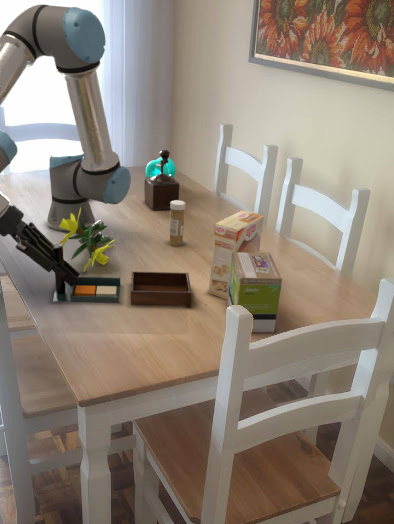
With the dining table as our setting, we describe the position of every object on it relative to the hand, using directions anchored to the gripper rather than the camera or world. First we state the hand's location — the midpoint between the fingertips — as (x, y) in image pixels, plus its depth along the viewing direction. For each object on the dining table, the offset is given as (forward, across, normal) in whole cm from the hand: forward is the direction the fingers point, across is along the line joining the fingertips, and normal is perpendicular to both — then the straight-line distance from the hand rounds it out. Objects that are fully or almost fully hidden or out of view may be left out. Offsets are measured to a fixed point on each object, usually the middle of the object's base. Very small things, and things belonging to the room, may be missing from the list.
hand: (75, 280), depth 145 cm
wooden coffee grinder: (+20, -77, +14) cm, 81 cm away
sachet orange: (+4, 0, -1) cm, 4 cm away
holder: (+18, 0, +12) cm, 22 cm away
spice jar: (+22, -37, +17) cm, 46 cm away
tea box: (+34, +11, +28) cm, 45 cm away
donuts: (+20, -103, +14) cm, 106 cm away
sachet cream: (+8, 0, +3) cm, 8 cm away
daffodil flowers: (+4, -24, -2) cm, 24 cm away
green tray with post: (+5, 0, -1) cm, 5 cm away
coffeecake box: (+32, -6, +26) cm, 42 cm away
